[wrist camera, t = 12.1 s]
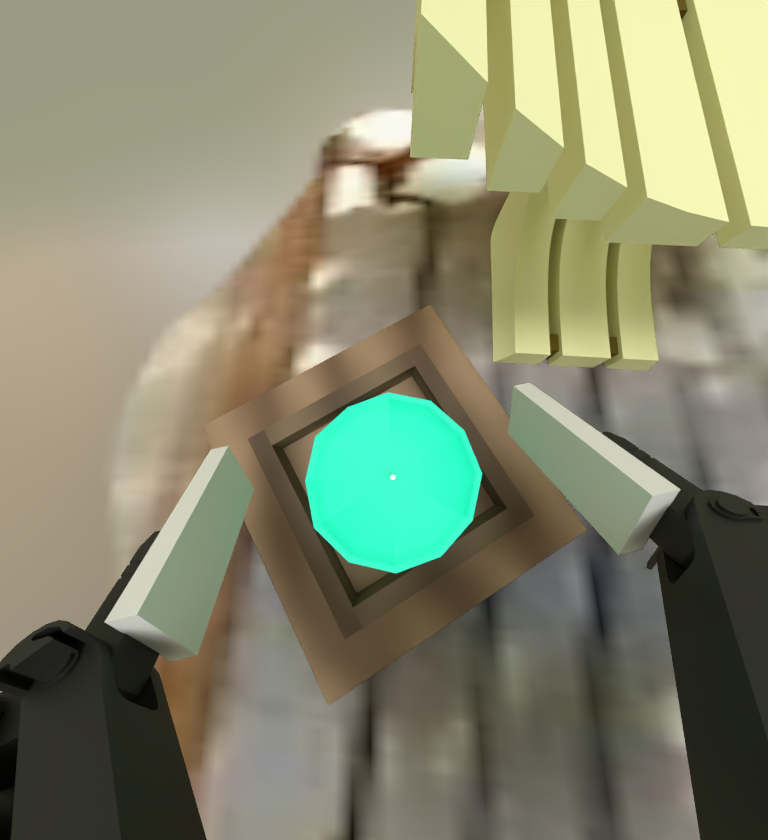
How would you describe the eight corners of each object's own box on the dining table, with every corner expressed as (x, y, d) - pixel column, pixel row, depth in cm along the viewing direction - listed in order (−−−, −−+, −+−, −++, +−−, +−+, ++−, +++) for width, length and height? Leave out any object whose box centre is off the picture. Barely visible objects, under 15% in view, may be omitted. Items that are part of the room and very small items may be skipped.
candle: (427, 433, 20) (486, 372, 8) (433, 520, 19) (513, 590, 7) (345, 437, 20) (289, 380, 8) (346, 523, 19) (282, 600, 7)
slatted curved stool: (715, 219, 26) (1364, -289, 9) (751, 376, 23) (1890, 60, 6) (403, 205, 27) (436, -300, 9) (394, 356, 24) (421, 14, 6)
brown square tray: (426, 318, 24) (434, 287, 20) (567, 524, 21) (610, 535, 17) (217, 431, 22) (181, 421, 18) (334, 681, 19) (320, 735, 15)
